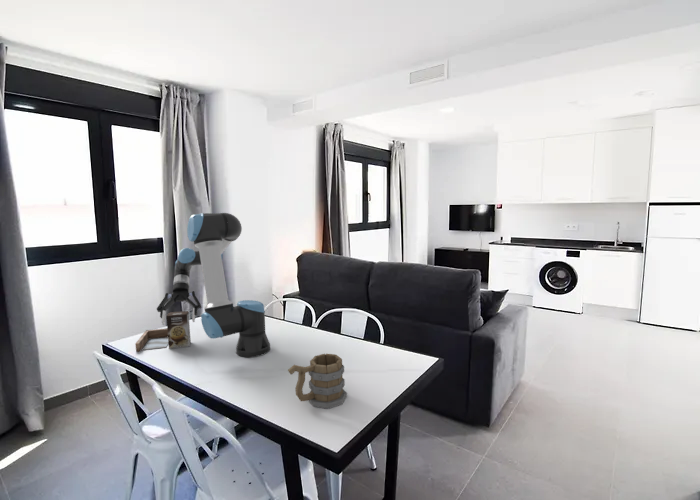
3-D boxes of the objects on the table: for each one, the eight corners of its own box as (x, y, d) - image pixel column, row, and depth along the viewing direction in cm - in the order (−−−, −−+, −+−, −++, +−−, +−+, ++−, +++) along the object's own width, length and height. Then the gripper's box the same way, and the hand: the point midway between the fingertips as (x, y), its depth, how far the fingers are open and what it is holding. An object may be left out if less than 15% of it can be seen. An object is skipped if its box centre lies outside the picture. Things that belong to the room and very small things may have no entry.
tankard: (335, 385, 135) (334, 346, 133) (352, 401, 124) (351, 359, 122) (283, 400, 126) (281, 358, 124) (296, 419, 115) (294, 373, 113)
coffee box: (168, 349, 173) (165, 316, 171) (171, 344, 179) (168, 312, 177) (189, 346, 175) (186, 314, 173) (191, 341, 181) (188, 310, 179)
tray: (165, 348, 174) (164, 340, 173) (136, 351, 170) (135, 343, 170) (173, 335, 191) (172, 327, 191) (146, 337, 188) (145, 330, 188)
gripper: (207, 287, 197) (206, 323, 185) (156, 291, 191) (151, 328, 178) (205, 279, 191) (204, 315, 179) (153, 283, 185) (148, 321, 172)
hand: (178, 322), depth 179 cm, fingers open, 13 cm apart
